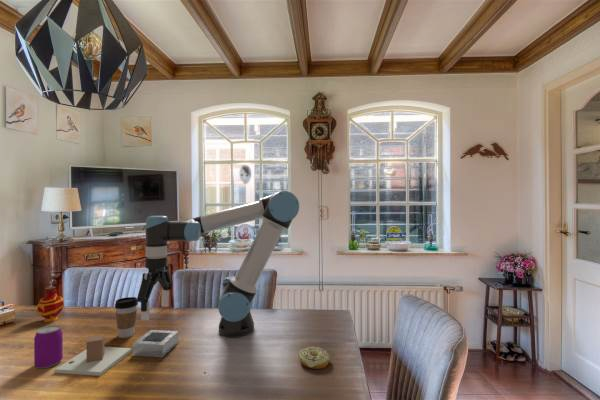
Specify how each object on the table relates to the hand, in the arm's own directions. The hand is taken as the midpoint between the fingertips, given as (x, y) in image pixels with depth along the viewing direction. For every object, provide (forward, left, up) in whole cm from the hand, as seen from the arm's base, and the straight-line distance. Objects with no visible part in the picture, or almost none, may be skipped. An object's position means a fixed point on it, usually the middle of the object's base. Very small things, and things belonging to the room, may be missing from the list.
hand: (155, 312), depth 119 cm
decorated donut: (-60, +3, -14) cm, 62 cm away
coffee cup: (+19, -10, -14) cm, 25 cm away
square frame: (0, 0, -14) cm, 14 cm away
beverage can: (+31, +14, -14) cm, 37 cm away
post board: (+16, +11, -14) cm, 24 cm away
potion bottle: (+64, -21, -14) cm, 69 cm away
